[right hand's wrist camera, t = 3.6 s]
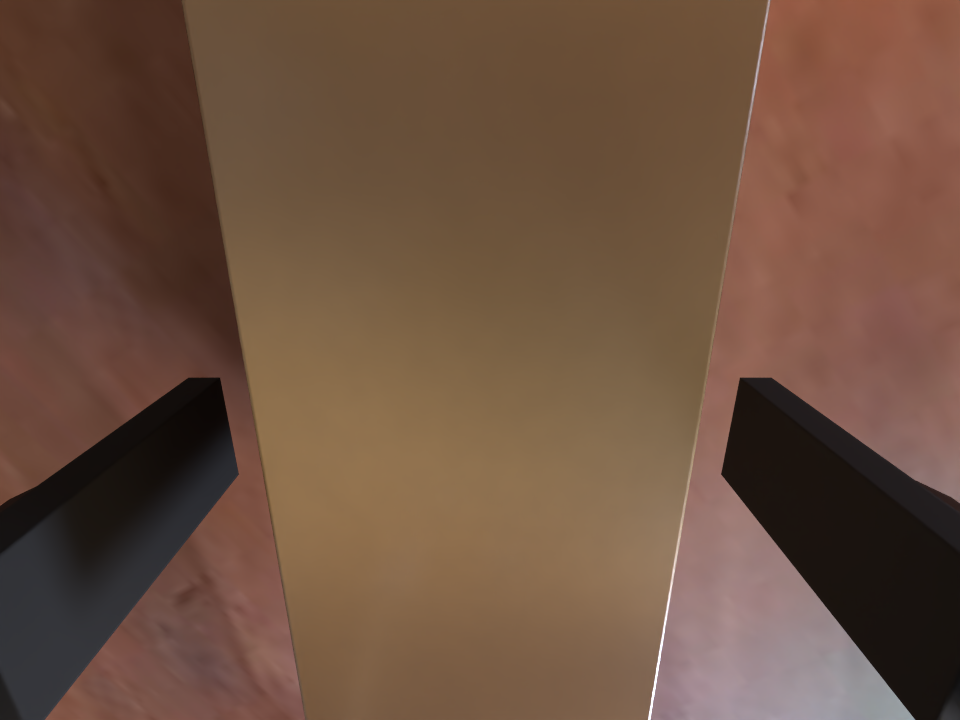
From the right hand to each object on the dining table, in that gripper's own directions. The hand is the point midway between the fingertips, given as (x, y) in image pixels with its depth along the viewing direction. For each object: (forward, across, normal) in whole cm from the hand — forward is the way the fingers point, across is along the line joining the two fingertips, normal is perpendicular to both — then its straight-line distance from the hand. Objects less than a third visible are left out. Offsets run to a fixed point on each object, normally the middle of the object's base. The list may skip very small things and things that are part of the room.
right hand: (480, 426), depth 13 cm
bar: (+2, 0, -7) cm, 7 cm away
